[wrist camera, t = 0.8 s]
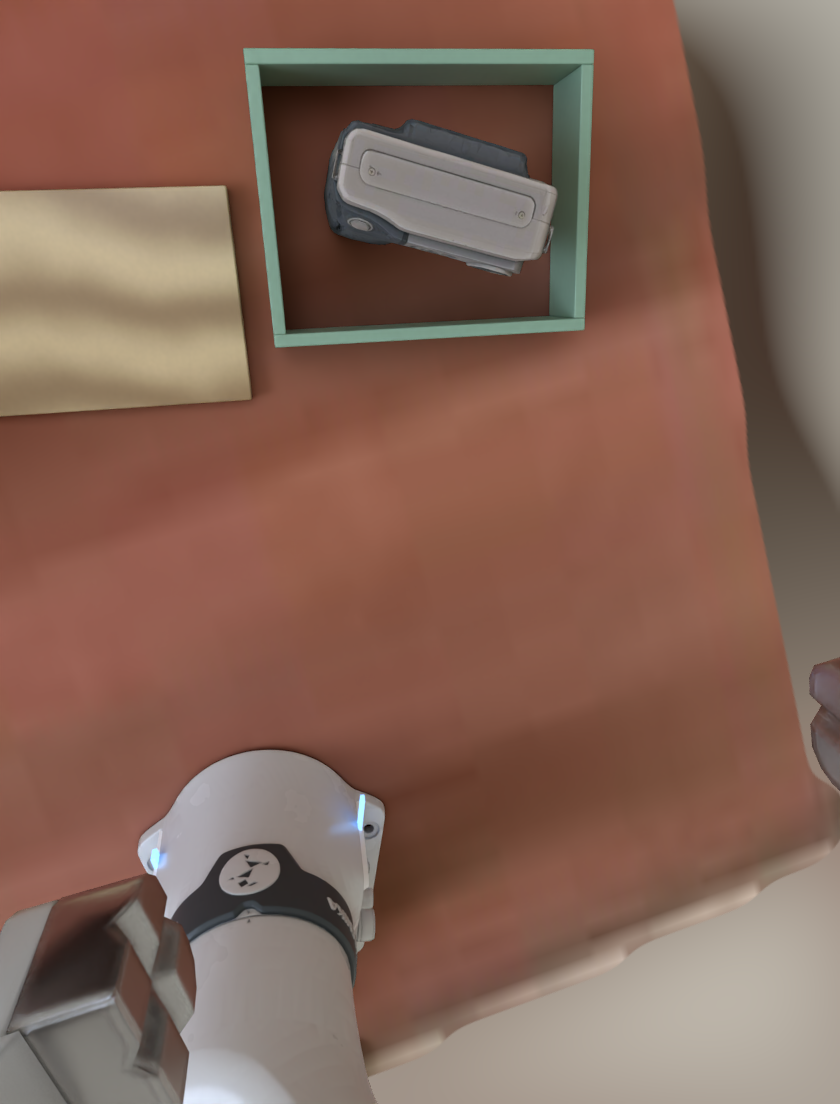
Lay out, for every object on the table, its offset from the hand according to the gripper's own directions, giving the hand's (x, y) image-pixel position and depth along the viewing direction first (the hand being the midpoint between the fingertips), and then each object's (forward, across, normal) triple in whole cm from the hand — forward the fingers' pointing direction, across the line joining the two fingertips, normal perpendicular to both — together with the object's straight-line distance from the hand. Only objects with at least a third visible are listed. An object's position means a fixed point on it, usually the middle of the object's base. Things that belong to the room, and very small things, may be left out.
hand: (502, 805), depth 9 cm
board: (+41, -13, +8) cm, 44 cm away
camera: (+41, +8, +8) cm, 43 cm away
